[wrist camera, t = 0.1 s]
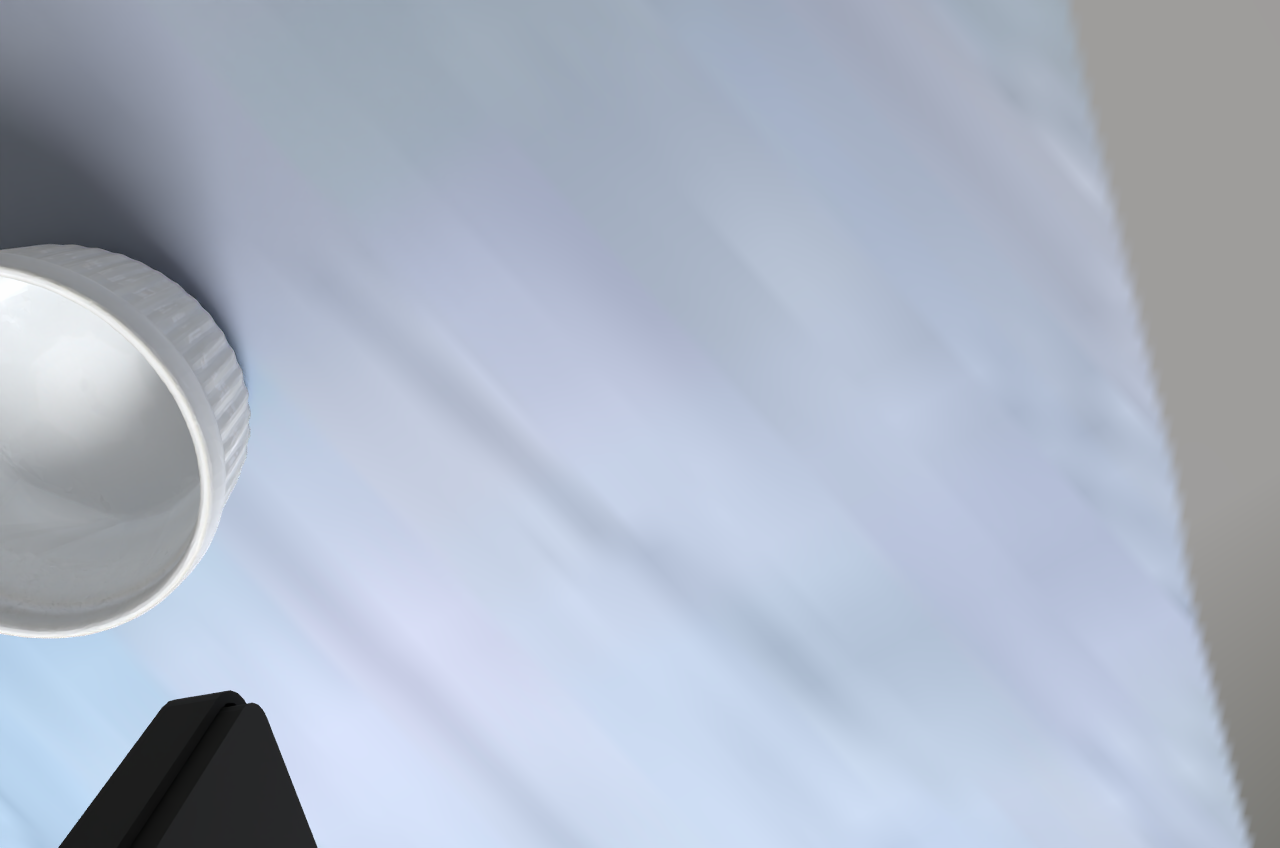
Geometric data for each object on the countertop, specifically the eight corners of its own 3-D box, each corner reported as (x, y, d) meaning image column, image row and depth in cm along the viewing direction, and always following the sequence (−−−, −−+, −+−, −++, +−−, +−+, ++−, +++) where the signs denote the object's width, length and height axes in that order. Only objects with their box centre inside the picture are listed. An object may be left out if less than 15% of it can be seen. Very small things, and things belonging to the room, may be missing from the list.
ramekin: (337, 325, 42) (271, 387, 35) (213, 603, 46) (133, 704, 40) (-12, 149, 40) (-149, 180, 34) (-106, 455, 44) (-243, 535, 38)
